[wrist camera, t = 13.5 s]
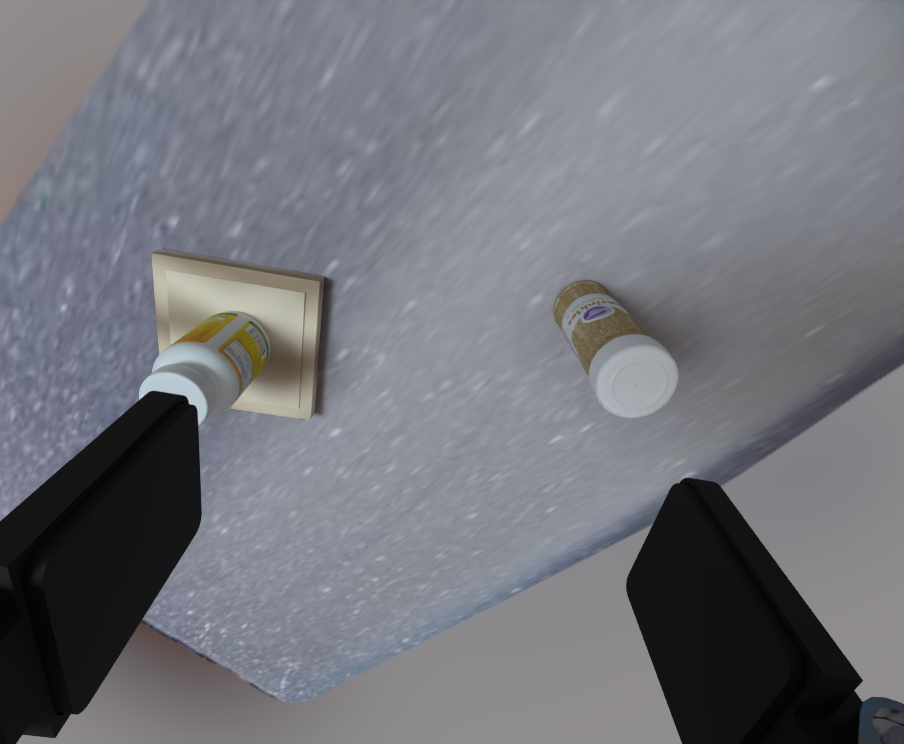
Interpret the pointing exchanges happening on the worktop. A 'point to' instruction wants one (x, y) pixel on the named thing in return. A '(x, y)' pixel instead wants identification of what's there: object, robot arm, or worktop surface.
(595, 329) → the sprinkles bottle
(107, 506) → the robot arm
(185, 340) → the supplement bottle
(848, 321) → the worktop surface
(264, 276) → the cream square tray
